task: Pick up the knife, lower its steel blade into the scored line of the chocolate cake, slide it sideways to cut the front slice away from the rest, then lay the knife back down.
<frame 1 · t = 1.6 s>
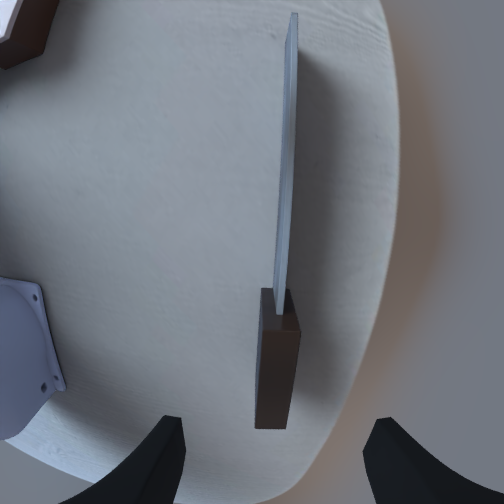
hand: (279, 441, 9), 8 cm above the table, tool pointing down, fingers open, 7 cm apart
knife: (271, 335, 17), on the table
cake slice: (37, 15, 12), on the table
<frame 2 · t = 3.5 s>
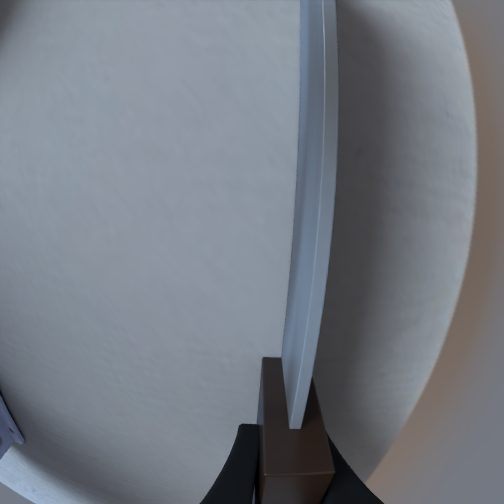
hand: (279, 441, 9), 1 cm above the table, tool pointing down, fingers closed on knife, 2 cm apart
knife: (277, 416, 11), on the table, touching gripper
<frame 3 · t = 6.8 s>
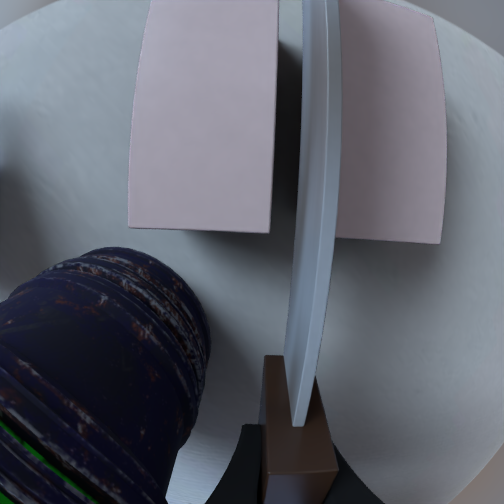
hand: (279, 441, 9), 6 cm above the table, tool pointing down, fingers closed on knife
knife: (279, 415, 11), point 5 cm above the table, touching gripper
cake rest: (220, 117, 12), on the table
cake slice: (351, 127, 12), on the table
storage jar: (126, 331, 15), on the table, touching gripper
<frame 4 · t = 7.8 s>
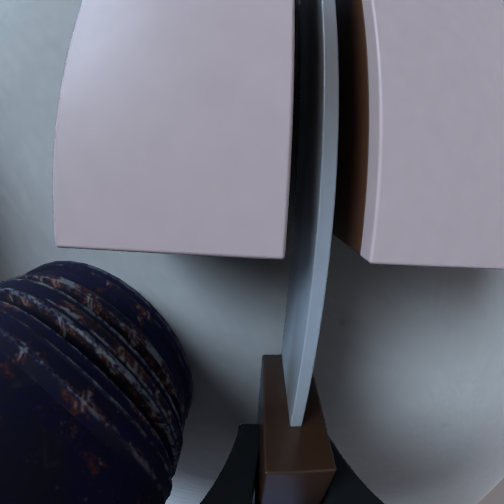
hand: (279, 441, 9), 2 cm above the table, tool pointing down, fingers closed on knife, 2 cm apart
knife: (277, 414, 11), point 1 cm above the table, touching gripper
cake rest: (208, 83, 8), on the table
cake slice: (388, 100, 8), on the table
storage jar: (91, 363, 11), on the table, touching gripper
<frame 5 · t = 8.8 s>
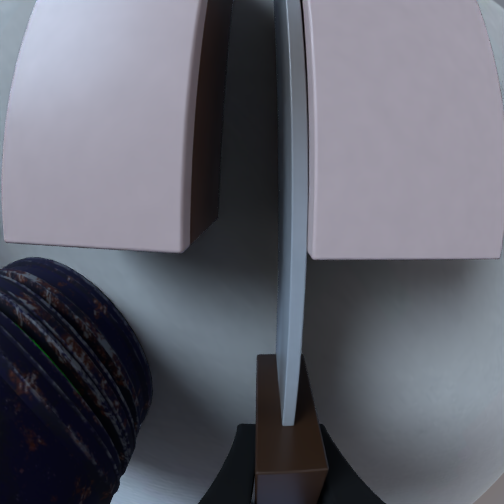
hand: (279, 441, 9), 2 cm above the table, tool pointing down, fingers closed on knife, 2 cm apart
knife: (277, 414, 11), point 1 cm above the table, touching cake slice, gripper
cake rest: (158, 84, 8), on the table
cake slice: (354, 89, 8), on the table, touching knife
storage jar: (61, 355, 11), on the table
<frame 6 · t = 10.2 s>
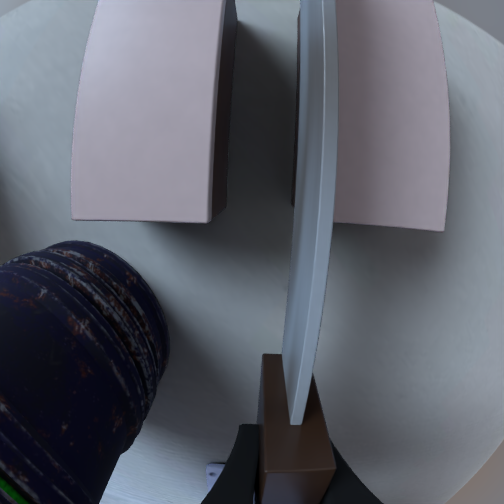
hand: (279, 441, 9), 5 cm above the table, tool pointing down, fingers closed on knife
knife: (277, 414, 11), point 4 cm above the table, touching gripper
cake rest: (179, 104, 11), on the table
cake slice: (347, 108, 11), on the table
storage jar: (89, 325, 14), on the table
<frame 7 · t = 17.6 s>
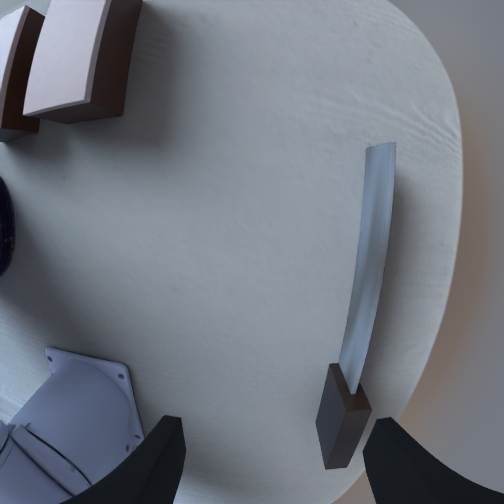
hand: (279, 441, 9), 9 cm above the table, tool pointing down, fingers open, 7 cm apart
knife: (332, 395, 20), on the table
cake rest: (26, 82, 15), on the table
cake slice: (101, 57, 14), on the table
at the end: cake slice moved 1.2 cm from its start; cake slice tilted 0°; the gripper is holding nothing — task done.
